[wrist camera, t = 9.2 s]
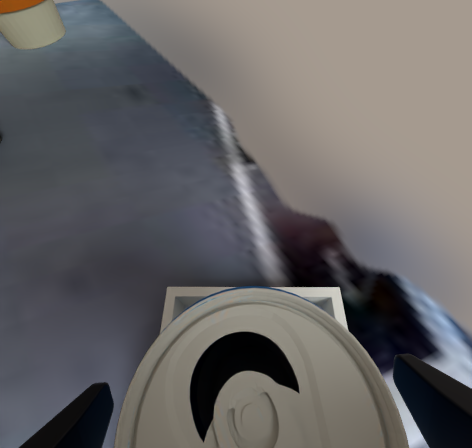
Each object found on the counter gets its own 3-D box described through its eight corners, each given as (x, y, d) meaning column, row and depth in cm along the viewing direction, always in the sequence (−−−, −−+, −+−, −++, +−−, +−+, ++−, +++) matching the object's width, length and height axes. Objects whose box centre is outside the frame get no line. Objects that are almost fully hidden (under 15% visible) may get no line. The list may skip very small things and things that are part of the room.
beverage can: (275, 315, 17) (315, 235, 7) (326, 425, 14) (546, 588, 4) (186, 355, 16) (74, 333, 6) (221, 483, 13) (112, 934, 3)
